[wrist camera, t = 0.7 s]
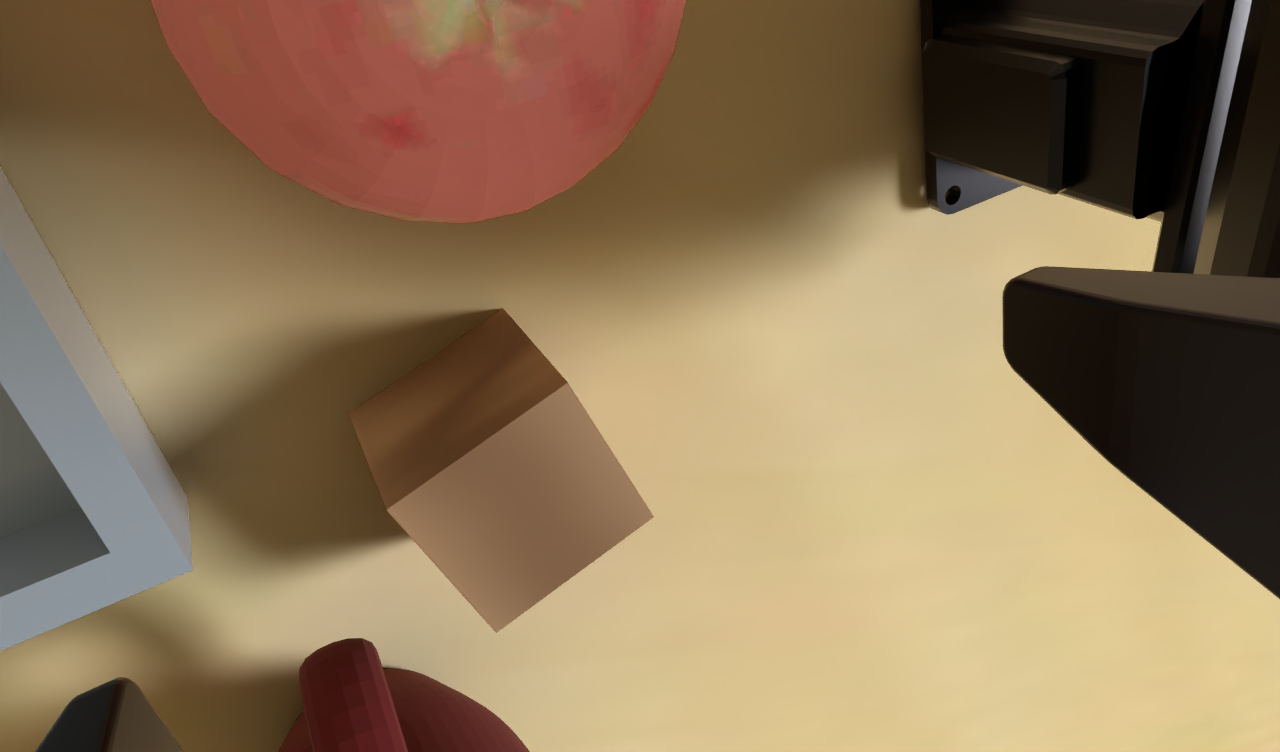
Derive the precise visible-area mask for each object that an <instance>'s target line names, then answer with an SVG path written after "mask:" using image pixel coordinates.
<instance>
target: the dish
mask: <svg viewBox="0 0 1280 752" xmlns="http://www.w3.org/2000/svg"><path fill="white" fill-rule="evenodd" d="M192 570H193V562H192V548H191V535H190V521H189V507H188V497H187V495H186V493H185V492H184V490H183V488H182V486H181V485H180V483H179V481H178V479H177V478H176V476H175V474H174V472H173V470H172V469H171V467H170V465H169V463H168V462H167V460H166V458H165V456H164V455H163V453H162V451H161V449H160V447H159V446H158V444H157V442H156V440H155V439H154V437H153V435H152V433H151V432H150V430H149V428H148V426H147V424H146V423H145V421H144V419H143V417H142V416H141V414H140V412H139V410H138V408H137V407H136V405H135V403H134V401H133V400H132V398H131V396H130V394H129V393H128V391H127V389H126V387H125V385H124V384H123V382H122V380H121V378H120V377H119V375H118V373H117V371H116V370H115V368H114V366H113V364H112V362H111V361H110V359H109V357H108V355H107V354H106V352H105V350H104V348H103V347H102V345H101V343H100V341H99V339H98V338H97V336H96V334H95V332H94V331H93V329H92V327H91V325H90V324H89V322H88V320H87V318H86V316H85V315H84V313H83V311H82V309H81V308H80V306H79V304H78V302H77V301H76V299H75V297H74V295H73V293H72V292H71V290H70V288H69V286H68V285H67V283H66V281H65V279H64V277H63V276H62V274H61V272H60V270H59V269H58V267H57V265H56V263H55V262H54V260H53V258H52V256H51V254H50V253H49V251H48V249H47V247H46V246H45V244H44V242H43V240H42V239H41V237H40V235H39V233H38V231H37V230H36V228H35V226H34V224H33V223H32V221H31V219H30V217H29V216H28V214H27V212H26V210H25V208H24V207H23V205H22V203H21V201H20V200H19V198H18V196H17V194H16V193H15V191H14V189H13V187H12V185H11V184H10V182H9V180H8V178H7V177H6V175H5V173H4V171H3V170H2V168H1V166H0V651H1V650H4V649H6V648H9V647H11V646H13V645H16V644H18V643H20V642H23V641H25V640H28V639H30V638H32V637H35V636H37V635H40V634H42V633H44V632H47V631H49V630H51V629H54V628H56V627H59V626H61V625H63V624H66V623H68V622H70V621H73V620H75V619H78V618H80V617H82V616H85V615H87V614H89V613H92V612H94V611H97V610H99V609H101V608H104V607H106V606H108V605H111V604H113V603H116V602H118V601H120V600H123V599H125V598H128V597H130V596H132V595H135V594H137V593H139V592H142V591H144V590H147V589H149V588H151V587H154V586H156V585H158V584H161V583H163V582H166V581H168V580H170V579H173V578H175V577H177V576H180V575H182V574H185V573H187V572H189V571H192Z"/></svg>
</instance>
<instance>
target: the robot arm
mask: <svg viewBox="0 0 1280 752" xmlns="http://www.w3.org/2000/svg"><path fill="white" fill-rule="evenodd" d="M920 7H921V37H922V67H923V97H924V127H925V157H926V187H927V200H928V204H929V206H930V207H931V208H932V209H934V210H937V211H939V212H942V213H945V214H953V213H956V212H958V211H961V210H963V209H966V208H968V207H970V206H973V205H975V204H978V203H980V202H983V201H985V200H988V199H990V198H993V197H995V196H997V195H1000V194H1002V193H1005V192H1007V191H1010V190H1012V189H1015V188H1017V187H1020V186H1022V185H1024V186H1027V187H1030V188H1033V189H1036V190H1039V191H1042V192H1045V193H1048V194H1061V195H1064V196H1067V197H1070V198H1073V199H1076V200H1079V201H1082V202H1086V203H1089V204H1092V205H1095V206H1098V207H1101V208H1104V209H1107V210H1110V211H1113V212H1117V213H1120V214H1123V215H1126V216H1129V217H1132V218H1135V219H1142V218H1145V217H1147V218H1150V219H1154V220H1157V221H1160V222H1161V227H1160V232H1159V238H1158V243H1157V248H1156V253H1155V259H1154V264H1153V269H1152V272H1147V271H1126V270H1106V269H1086V268H1066V267H1039V268H1035V269H1033V270H1031V271H1028V272H1026V273H1024V274H1022V275H1019V276H1017V277H1015V278H1013V279H1011V280H1010V281H1009V282H1008V283H1007V284H1006V286H1005V288H1004V291H1003V350H1004V354H1005V357H1006V359H1007V361H1008V363H1009V364H1010V366H1011V367H1012V369H1013V370H1014V371H1015V372H1016V373H1017V374H1018V375H1019V376H1020V377H1021V378H1022V379H1023V380H1024V381H1025V382H1026V383H1027V384H1028V385H1029V386H1030V387H1031V388H1032V389H1033V390H1035V391H1036V392H1037V393H1038V394H1039V395H1040V396H1041V397H1042V398H1043V399H1044V400H1045V401H1046V402H1047V403H1048V404H1049V405H1050V406H1051V407H1052V408H1053V409H1054V410H1055V411H1056V412H1057V413H1058V414H1059V415H1060V416H1061V417H1062V418H1063V419H1064V420H1065V421H1066V422H1067V423H1068V424H1069V425H1070V426H1072V427H1073V428H1074V429H1075V430H1076V431H1077V432H1078V433H1079V434H1080V435H1081V436H1082V437H1083V438H1084V439H1085V440H1086V441H1087V442H1088V443H1089V444H1090V445H1091V446H1092V447H1093V448H1094V449H1095V450H1096V451H1097V452H1099V453H1100V454H1101V455H1102V456H1103V457H1104V458H1105V459H1106V460H1107V461H1108V462H1109V463H1111V464H1112V465H1113V466H1114V467H1115V468H1116V469H1118V470H1119V471H1120V472H1121V473H1122V474H1124V475H1125V476H1126V477H1127V478H1128V479H1130V480H1131V481H1132V482H1133V483H1135V484H1136V485H1137V486H1139V487H1140V488H1141V489H1142V490H1144V491H1145V492H1146V493H1147V494H1149V495H1150V496H1151V497H1152V498H1154V499H1155V500H1156V501H1157V502H1159V503H1160V504H1161V505H1162V506H1164V507H1165V508H1166V509H1167V510H1169V511H1170V512H1171V513H1172V514H1174V515H1175V516H1176V517H1177V518H1179V519H1180V520H1181V521H1182V522H1184V523H1185V524H1186V525H1187V526H1189V527H1190V528H1191V529H1192V530H1194V531H1195V532H1196V533H1197V534H1199V535H1200V536H1201V537H1202V538H1204V539H1205V540H1206V541H1207V542H1209V543H1210V544H1211V545H1212V546H1214V547H1215V548H1216V549H1217V550H1219V551H1220V552H1221V553H1222V554H1224V555H1225V556H1226V557H1227V558H1229V559H1230V560H1231V561H1232V562H1234V563H1235V564H1236V565H1238V566H1239V567H1240V568H1241V569H1243V570H1244V571H1245V572H1246V573H1248V574H1249V575H1250V576H1251V577H1253V578H1254V579H1255V580H1256V581H1258V582H1259V583H1260V584H1261V585H1263V586H1264V587H1265V588H1266V589H1268V590H1269V591H1270V592H1271V593H1273V594H1274V595H1275V596H1276V597H1278V598H1279V599H1280V0H920ZM949 188H950V193H949V195H948V196H947V198H946V199H945V196H946V192H947V191H948V189H949ZM35 752H182V750H181V748H180V746H179V744H178V742H177V740H176V738H175V736H174V735H173V734H172V732H171V731H170V729H169V728H168V727H167V725H166V724H165V723H164V721H163V720H162V718H161V717H160V716H159V714H158V713H157V712H156V710H155V709H154V707H153V706H152V705H151V703H150V702H149V701H148V699H147V698H146V696H145V695H144V694H143V692H142V691H141V690H140V688H139V687H138V686H137V685H136V684H135V683H134V682H133V681H131V680H130V679H128V678H122V677H120V678H116V679H114V680H112V681H109V682H107V683H105V684H103V685H100V686H98V687H96V688H94V689H91V690H89V691H87V692H85V693H82V694H80V695H78V696H77V697H75V698H74V699H72V700H71V702H70V703H69V704H68V705H67V706H66V708H65V709H64V711H63V712H62V714H61V715H60V717H59V718H58V719H57V721H56V722H55V724H54V725H53V727H52V728H51V730H50V731H49V733H48V734H47V735H46V737H45V738H44V740H43V741H42V743H41V744H40V746H39V747H38V749H37V750H36V751H35Z"/></svg>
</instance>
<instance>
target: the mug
mask: <svg viewBox="0 0 1280 752" xmlns="http://www.w3.org/2000/svg"><path fill="white" fill-rule="evenodd" d="M299 676H300V690H301V696H302V702H303V708H304V711H303V712H302V714H301V715H300V716H299V718H298V719H297V720H296V722H295V724H294V725H293V727H292V729H291V730H290V732H289V734H288V736H287V737H286V739H285V741H284V743H283V744H282V746H281V748H280V750H279V751H278V752H529V750H528V749H527V748H526V746H525V745H524V744H523V742H522V741H521V740H520V739H519V738H518V736H517V735H516V734H515V733H514V732H513V731H512V730H511V729H510V728H509V727H508V726H507V725H506V724H505V723H504V722H503V721H502V720H501V719H500V718H499V717H497V716H496V715H495V714H494V713H492V712H491V711H490V710H488V709H487V708H485V707H484V706H482V705H481V704H479V703H477V702H476V701H474V700H472V699H471V698H469V697H467V696H465V695H464V694H462V693H460V692H458V691H456V690H454V689H452V688H450V687H448V686H446V685H444V684H442V683H440V682H438V681H436V680H434V679H432V678H430V677H428V676H425V675H423V674H420V673H417V672H413V671H409V670H402V669H383V668H382V665H381V662H380V659H379V656H378V652H377V650H376V648H375V647H374V645H373V644H372V642H370V641H367V640H365V639H362V638H354V639H345V640H341V641H337V642H333V643H331V644H329V645H326V646H324V647H322V648H320V649H318V650H316V651H315V652H314V653H312V654H311V655H310V656H309V657H307V658H306V659H305V661H304V662H303V664H302V666H301V667H300V672H299Z"/></svg>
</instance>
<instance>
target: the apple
mask: <svg viewBox="0 0 1280 752" xmlns="http://www.w3.org/2000/svg"><path fill="white" fill-rule="evenodd" d="M151 2H152V4H153V7H154V10H155V13H156V15H157V18H158V21H159V24H160V27H161V29H162V32H163V35H164V38H165V41H166V43H167V46H168V48H169V49H170V51H171V52H172V54H173V55H174V57H175V59H176V60H177V62H178V63H179V65H180V66H181V68H182V70H183V71H184V73H185V74H186V76H187V77H188V79H189V81H190V82H191V84H192V85H193V87H194V88H195V90H196V92H197V93H198V95H199V96H200V98H201V100H202V101H203V103H204V104H205V106H206V108H207V109H208V111H209V113H210V114H211V115H213V116H214V117H215V118H216V119H217V120H218V121H219V122H220V123H221V124H222V125H223V126H224V127H225V128H227V129H228V130H229V131H230V132H231V133H232V134H233V135H234V136H235V137H236V138H237V139H238V140H240V141H241V142H242V143H243V144H244V145H245V146H246V147H247V148H248V149H249V150H250V151H251V152H253V153H254V154H255V155H256V156H257V157H258V158H259V159H260V160H261V161H262V162H263V163H264V164H266V165H267V166H268V167H269V168H270V169H272V170H274V171H276V172H277V173H279V174H281V175H283V176H285V177H287V178H289V179H291V180H293V181H295V182H297V183H299V184H301V185H303V186H305V187H307V188H309V189H310V190H312V191H314V192H316V193H318V194H320V195H322V196H324V197H326V198H328V199H330V200H332V201H334V202H336V203H338V204H340V205H343V206H347V207H351V208H355V209H359V210H363V211H367V212H371V213H375V214H379V215H384V216H388V217H392V218H396V219H400V220H409V221H431V222H452V223H472V222H477V221H481V220H486V219H491V218H495V217H500V216H505V215H509V214H514V213H519V212H523V211H526V210H528V209H530V208H532V207H534V206H536V205H538V204H540V203H542V202H544V201H546V200H548V199H550V198H552V197H554V196H555V195H557V194H559V193H561V192H563V191H565V190H567V189H569V188H571V187H573V186H574V185H575V184H577V183H578V182H579V181H580V180H582V179H583V178H584V177H585V176H586V175H587V174H589V173H590V172H591V171H592V170H593V169H594V168H596V167H597V166H598V165H599V164H600V163H602V162H603V161H604V160H605V159H606V158H607V157H609V156H610V155H611V154H612V153H613V152H614V151H616V150H617V149H618V148H619V146H620V145H621V144H622V142H623V141H624V140H625V138H626V137H627V136H628V134H629V133H630V131H631V130H632V129H633V127H634V126H635V125H636V123H637V122H638V121H639V119H640V118H641V117H642V115H643V114H644V113H645V111H646V110H647V109H648V107H649V106H650V104H651V102H652V100H653V97H654V95H655V93H656V91H657V89H658V87H659V84H660V82H661V80H662V78H663V76H664V74H665V72H666V69H667V67H668V65H669V63H670V61H671V59H672V56H673V54H674V51H675V46H676V42H677V38H678V33H679V29H680V25H681V21H682V16H683V12H684V8H685V3H686V0H151Z"/></svg>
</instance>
